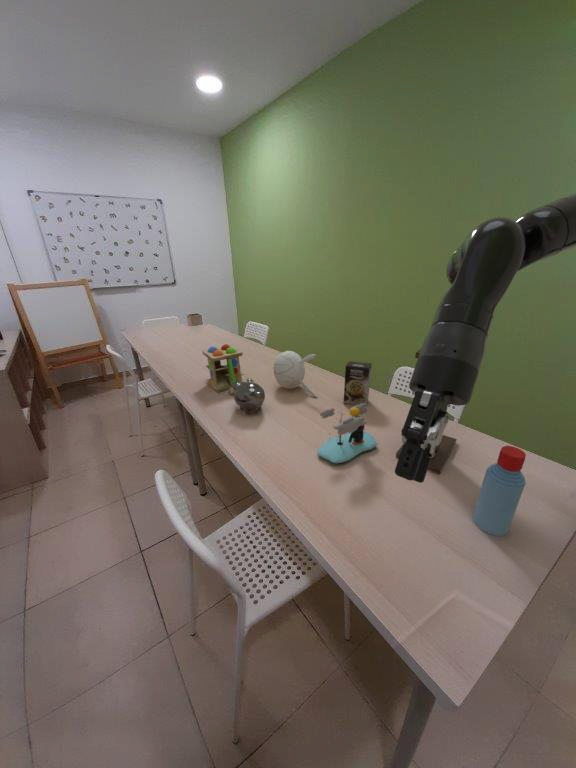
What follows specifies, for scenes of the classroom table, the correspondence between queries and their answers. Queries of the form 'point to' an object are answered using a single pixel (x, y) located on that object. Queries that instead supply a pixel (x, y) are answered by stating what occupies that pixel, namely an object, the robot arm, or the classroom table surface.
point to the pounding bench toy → (223, 367)
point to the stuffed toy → (291, 370)
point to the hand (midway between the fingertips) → (409, 479)
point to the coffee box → (357, 383)
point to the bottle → (498, 499)
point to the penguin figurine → (347, 437)
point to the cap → (511, 458)
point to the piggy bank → (248, 396)
